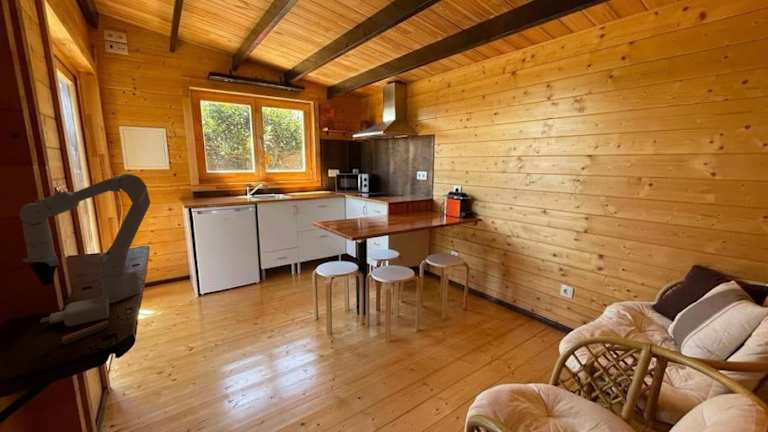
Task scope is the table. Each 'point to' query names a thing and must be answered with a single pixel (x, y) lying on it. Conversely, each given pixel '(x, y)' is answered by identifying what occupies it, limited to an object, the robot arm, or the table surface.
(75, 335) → the brown stick
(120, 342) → the table surface
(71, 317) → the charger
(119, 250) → the robot arm
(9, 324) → the table surface
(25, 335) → the table surface
